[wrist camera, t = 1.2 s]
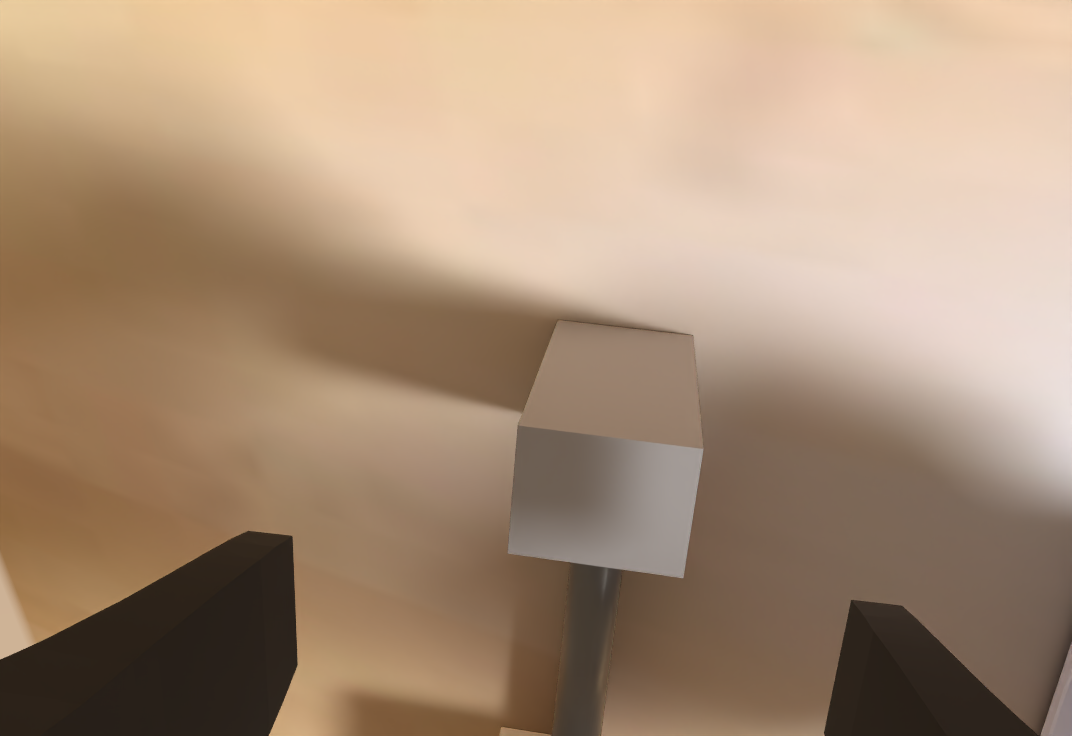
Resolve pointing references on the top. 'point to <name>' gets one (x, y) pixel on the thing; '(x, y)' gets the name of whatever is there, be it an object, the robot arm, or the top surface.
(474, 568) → the top surface
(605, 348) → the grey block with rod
